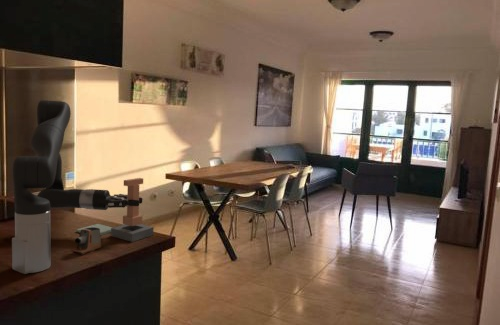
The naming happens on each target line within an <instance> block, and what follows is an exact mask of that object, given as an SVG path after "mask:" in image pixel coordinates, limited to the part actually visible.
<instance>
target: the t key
mask: <svg viewBox="0 0 500 325" xmlns="http://www.w3.org/2000/svg"><path fill="white" fill-rule="evenodd" d="M143 184H144V178H142V177H137V178H131V179H130V178H129V179H123V186H124V187H127V194H126V195H127V199H128V200H139V197H140V185H143ZM139 206H140V205H139ZM139 206H129V205H128V206H127V207H126V214H125V215H123V216H122V225H124V224H126V225H130V226H135V225H138V224H142V225H143V215H140V214H139V212H140V210H139V209H140V207H139Z"/></svg>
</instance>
